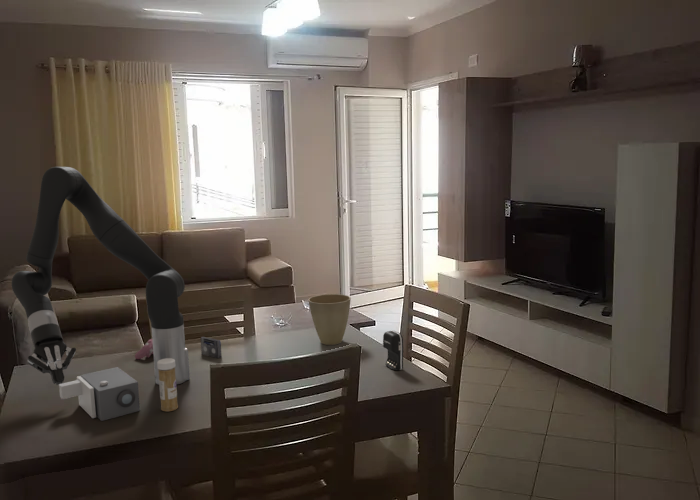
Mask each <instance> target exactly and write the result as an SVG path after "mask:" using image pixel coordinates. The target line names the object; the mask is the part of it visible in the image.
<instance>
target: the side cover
mask: <svg viewBox="0 0 700 500" xmlns="http://www.w3.org/2000/svg"><path fill="white" fill-rule="evenodd" d="M58 390H59V398H60V399H61V400H66V399H69V398H74V397H78V405H79V406H80V407H81V409H83V410H84V411H85V412H86V414H88V415H89V417H91V419H95V418H97V416H96V410H95V399H94V388H93V387H92V386H91V385H90V384H89V383H87V382H86V381H85V380H84V379H83V378H82V377H81V375H78V376H76V379H75V380H72V381H67V382H62V384H59V385H58Z"/></svg>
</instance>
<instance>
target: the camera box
mask: <svg viewBox="0 0 700 500" xmlns="http://www.w3.org/2000/svg"><path fill="white" fill-rule="evenodd" d="M80 376H81V377H82V378H83V379H84V380H85V381H86V382H87V383H89V384H90V385H91V386H92V387H93V388H94V399H95V410H96V418H98V419H99V420H100V421H101V422H102V421H107V420H110V419H114V418H118V417H122V416H125V415H128V414H133V413H136V412H140V411H141V407H140V404H141V403H140V393H139V392H140V391H139V382H138V380H136V379H135V378H133V377H132V376H131V375H130V374H128V373H127V372H126V371H124V370H122V369H121V368H120V367H118V366H115V367H111V368H106V369H101V370H98V371H93V372H92V371H91V372H88V373H84V374H80Z"/></svg>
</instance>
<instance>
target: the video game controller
mask: <svg viewBox="0 0 700 500" xmlns="http://www.w3.org/2000/svg"><path fill="white" fill-rule="evenodd" d="M151 355H154V354H153V341H152V338H150V339H148V340H147V342H146V343H144V345H142V346H141V348H140V350H138V351H137V352H136V353H135V354H134V358H135V359H136V360H142V359H143V358H145V357H146V358H150V357H151Z"/></svg>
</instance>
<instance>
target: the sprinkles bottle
mask: <svg viewBox="0 0 700 500" xmlns="http://www.w3.org/2000/svg"><path fill="white" fill-rule="evenodd" d="M157 367H158V370H159V385H158V387H159V398H160V405H161V406H160V410H161V411H162V412H173V411H176V410H177V409H178V408H179V404H178V390H177V385H176V377H175V360H174V359H172V358H166V359H161V360H159V361H158V362H157Z"/></svg>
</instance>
